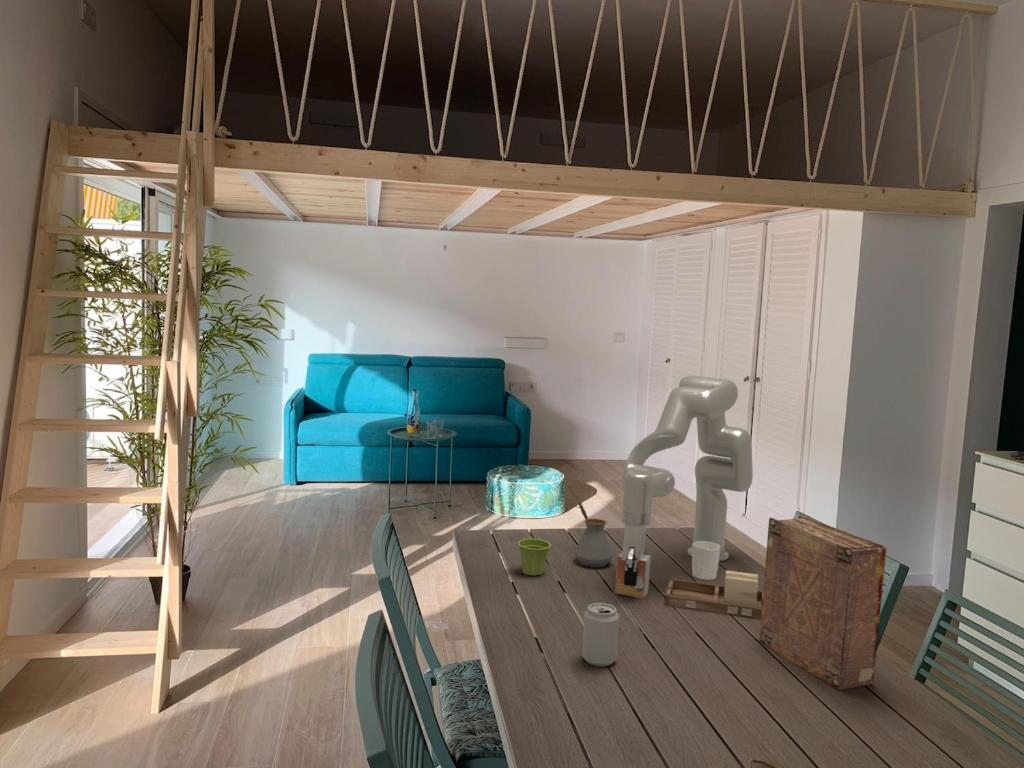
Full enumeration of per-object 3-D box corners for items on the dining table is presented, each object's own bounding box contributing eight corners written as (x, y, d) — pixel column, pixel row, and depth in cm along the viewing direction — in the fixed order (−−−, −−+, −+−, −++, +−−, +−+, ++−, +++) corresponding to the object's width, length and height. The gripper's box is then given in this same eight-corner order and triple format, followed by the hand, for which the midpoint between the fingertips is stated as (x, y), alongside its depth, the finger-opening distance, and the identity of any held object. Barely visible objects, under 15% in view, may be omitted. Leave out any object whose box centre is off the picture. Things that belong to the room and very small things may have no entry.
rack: (669, 590, 219) (670, 578, 219) (764, 604, 213) (765, 591, 212) (664, 609, 206) (665, 596, 206) (766, 623, 199) (767, 610, 199)
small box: (614, 594, 215) (616, 556, 214) (620, 587, 220) (622, 550, 219) (644, 599, 212) (646, 560, 211) (648, 592, 217) (651, 555, 216)
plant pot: (555, 572, 231) (556, 543, 230) (538, 581, 223) (540, 550, 222) (527, 565, 236) (529, 536, 235) (510, 573, 228) (511, 544, 227)
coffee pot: (618, 568, 236) (621, 519, 235) (581, 570, 233) (583, 520, 232) (593, 546, 257) (595, 501, 255) (559, 548, 254) (561, 501, 252)
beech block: (723, 599, 212) (726, 570, 211) (755, 604, 209) (757, 574, 209) (723, 607, 206) (725, 577, 205) (755, 612, 204) (758, 582, 203)
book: (758, 641, 188) (768, 516, 185) (790, 636, 192) (799, 514, 189) (839, 691, 165) (852, 550, 162) (873, 685, 168) (886, 546, 165)
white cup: (715, 575, 234) (718, 542, 233) (720, 584, 226) (722, 550, 225) (688, 573, 235) (690, 540, 234) (691, 582, 227) (694, 548, 226)
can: (594, 670, 170) (597, 616, 168) (575, 656, 176) (578, 603, 175) (623, 664, 173) (626, 611, 172) (603, 650, 180) (606, 599, 178)
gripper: (627, 508, 224) (623, 567, 225) (617, 524, 207) (613, 588, 209) (654, 511, 221) (650, 571, 223) (646, 527, 205) (642, 592, 207)
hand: (632, 579), depth 216 cm, fingers open, 9 cm apart
